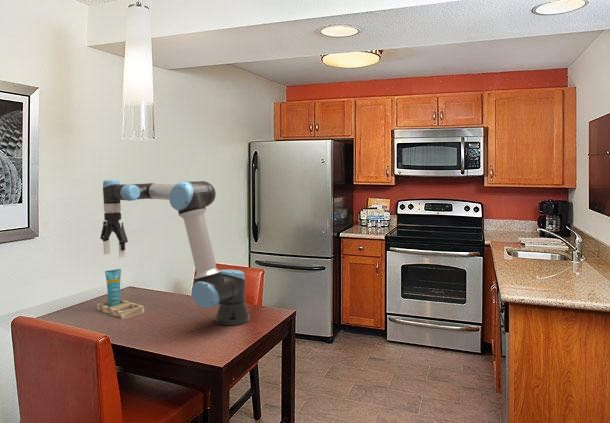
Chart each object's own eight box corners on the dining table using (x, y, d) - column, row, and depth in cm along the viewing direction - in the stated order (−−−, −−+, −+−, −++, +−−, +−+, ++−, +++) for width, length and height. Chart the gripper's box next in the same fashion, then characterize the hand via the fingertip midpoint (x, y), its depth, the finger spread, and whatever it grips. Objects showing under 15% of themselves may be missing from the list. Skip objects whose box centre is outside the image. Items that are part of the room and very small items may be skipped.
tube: (108, 310, 225) (107, 271, 223) (104, 308, 229) (103, 270, 227) (124, 307, 230) (122, 269, 228) (120, 305, 234) (118, 267, 232)
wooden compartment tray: (144, 312, 224) (144, 306, 224) (122, 318, 215) (121, 312, 215) (119, 304, 237) (118, 298, 237) (97, 309, 228) (97, 303, 228)
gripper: (134, 212, 221) (136, 257, 223) (106, 210, 236) (107, 251, 238) (119, 214, 215) (121, 259, 217) (91, 211, 230) (93, 253, 232)
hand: (114, 255), depth 227 cm, fingers open, 13 cm apart
